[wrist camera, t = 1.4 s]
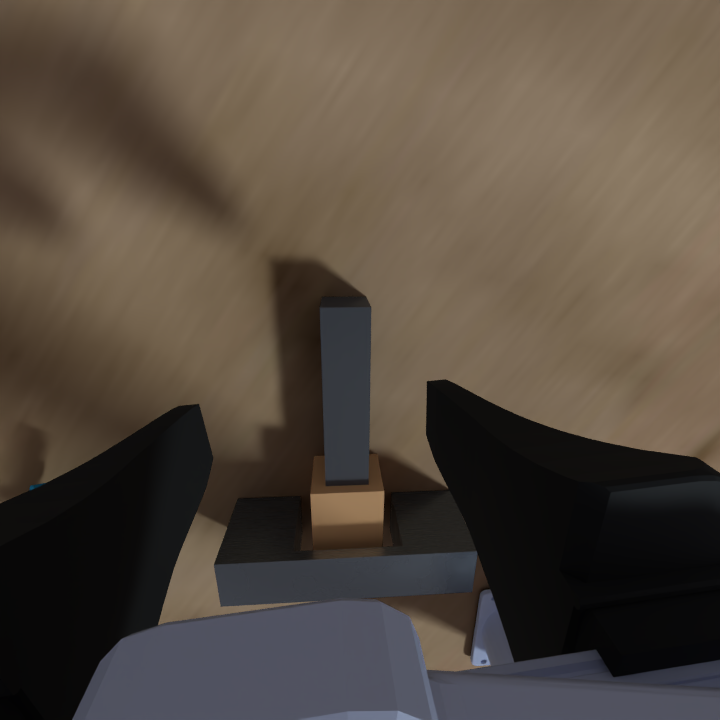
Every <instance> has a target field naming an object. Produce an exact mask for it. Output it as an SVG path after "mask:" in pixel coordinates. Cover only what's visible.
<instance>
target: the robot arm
mask: <svg viewBox="0 0 720 720" xmlns="http://www.w3.org/2000/svg"><path fill="white" fill-rule="evenodd" d="M426 436H427V439H428V442H429V445H430V448H431V451H432V454H433V457H434V460H435V462H436V464H437V466H438V468H439V470H440V472H441V474H442V476H443V478H444V480H445V482H446V484H447V486H448V488H449V490H450V492H451V494H452V496H453V498H454V500H455V502H456V504H457V506H458V508H459V510H460V512H461V514H462V516H463V518H464V521H465V523H466V525H467V527H468V530H469V532H470V535H471V537H472V540H473V543H474V545H475V548H476V551H477V553H478V556H479V559H480V561H481V564H482V567H483V570H484V573H485V576H486V578H487V581H488V584H489V587H490V589H488V590H484V591H482V592H481V593H480V598H479V604H478V611H477V617H476V624H475V630H474V637H473V644H472V650H471V657H470V659H471V662H472V664H473V665H475V666H481V665H491V666H489V667H482V668H476V669H470V670H463V671H457V672H454V671H438V670H426V666H425V662H424V658H423V653H422V649H421V645H420V640H419V637H418V635H417V633H416V630H415V628H414V626H413V624H412V621H411V619H410V617H409V616H408V615H406V614H404V613H402V612H400V611H398V610H396V609H394V608H392V607H390V606H388V605H386V604H384V603H382V602H380V601H379V600H377V599H354V598H338V599H331V600H324V601H317V602H310V603H302V604H295V605H288V606H281V607H274V608H267V609H260V610H253V611H246V612H239V613H231V614H224V615H217V616H210V617H203V618H196V619H189V620H182V621H175V622H167V623H164V624H161V625H158V622H159V619H160V615H161V611H162V607H163V604H164V600H165V597H166V593H167V590H168V587H169V583H170V580H171V576H172V573H173V570H174V567H175V564H176V561H177V558H178V556H179V553H180V551H181V548H182V546H183V543H184V541H185V538H186V536H187V533H188V531H189V529H190V526H191V524H192V521H193V519H194V516H195V514H196V512H197V509H198V507H199V504H200V502H201V499H202V497H203V494H204V492H205V489H206V486H207V482H208V479H209V475H210V470H211V466H212V462H213V455H212V451H211V448H210V444H209V440H208V436H207V433H206V429H205V425H204V421H203V417H202V414H201V410H200V406H199V404H195V405H185V406H178V407H176V408H174V409H172V410H170V411H168V412H167V413H165V414H163V415H162V416H160V417H159V418H157V419H155V420H154V421H152V422H151V423H149V424H148V425H146V426H145V427H143V428H141V429H140V430H138V431H137V432H135V433H134V434H132V435H131V436H129V437H127V438H126V439H124V440H123V441H121V442H119V443H118V444H116V445H114V446H113V447H111V448H109V449H108V450H106V451H104V452H103V453H101V454H99V455H98V456H96V457H94V458H93V459H91V460H89V461H88V462H86V463H84V464H82V465H80V466H78V467H77V468H75V469H73V470H71V471H69V472H67V473H65V474H63V475H61V476H59V477H57V478H55V479H53V480H51V481H49V482H47V483H45V484H43V485H41V486H39V487H37V488H34V489H32V490H30V491H28V492H25V493H23V494H21V495H19V496H16V497H14V498H12V499H10V500H7V501H5V502H3V503H0V720H720V473H719V472H718V471H716V470H715V469H713V468H712V467H710V466H709V465H707V464H706V463H704V462H703V461H701V460H700V459H698V458H696V457H689V456H682V455H675V454H668V453H661V452H654V451H646V450H640V449H635V448H630V447H625V446H620V445H615V444H610V443H605V442H601V441H597V440H592V439H588V438H585V437H581V436H577V435H574V434H570V433H567V432H563V431H560V430H557V429H554V428H551V427H548V426H545V425H542V424H539V423H537V422H534V421H531V420H529V419H526V418H524V417H521V416H519V415H516V414H514V413H512V412H510V411H508V410H505V409H503V408H501V407H499V406H497V405H495V404H493V403H491V402H489V401H487V400H485V399H483V398H481V397H479V396H477V395H475V394H473V393H472V392H470V391H468V390H466V389H464V388H462V387H460V386H458V385H457V384H455V383H453V382H450V381H448V380H435V381H427V411H426Z"/></svg>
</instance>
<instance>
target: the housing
mask: <svg viewBox="0 0 720 720" xmlns="http://www.w3.org/2000/svg"><path fill="white" fill-rule="evenodd" d="M390 531H391V537H392V542H393V547H373V548H352V549H332V550H312V551H300V550H301V541H302V517H301V501H300V496H293V497H269V498H244V499H238V500H237V503H236V505H235V508H234V511H233V514H232V516H231V519H230V522H229V525H228V527H227V530H226V533H225V536H224V538H223V541H222V544H221V547H220V549H219V552H218V555H217V558H216V560H215V563H214V568H215V574H216V580H217V586H218V592H219V598H220V604H221V607H222V606H239V605H256V604H273V603H291V602H308V601H324V600H331V599H338V598H354V599H360V598H377V597H395V596H412V595H429V594H446V593H464V592H472V589H473V582H474V575H475V568H476V561H477V554H478V553H477V551H476V548H475V545H474V543H473V540H472V537H471V535H470V533H469V530H468V528H467V526H466V524H465V521H464V519H463V517H462V515H461V512H460V510H459V508H458V506H457V504H456V502H455V500H454V498H453V496H452V494H451V492H450V490H443V491H418V492H393V493H391V514H390Z"/></svg>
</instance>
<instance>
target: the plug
mask: <svg viewBox="0 0 720 720" xmlns="http://www.w3.org/2000/svg"><path fill="white" fill-rule="evenodd" d="M320 331H321V361H322V392H323V422H324V453H325V456H314V461H313V471H312V482H311V493H310V496H311V516H312V537H313V550H332V549H352V548H373V547H383V517H384V487H383V482H382V477H381V471H380V466H379V461H378V456H377V454H369V427H370V355H371V306H370V304H369V302H368V300H367V298H366V297H322V299H321V304H320Z"/></svg>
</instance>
